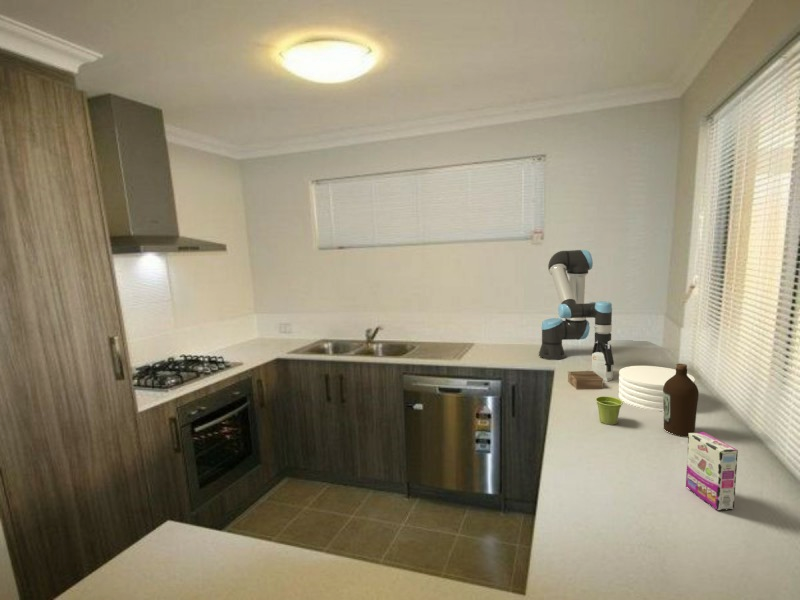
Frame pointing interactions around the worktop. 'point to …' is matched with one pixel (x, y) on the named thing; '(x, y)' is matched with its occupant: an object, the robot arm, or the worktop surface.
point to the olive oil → (680, 403)
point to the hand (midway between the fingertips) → (602, 373)
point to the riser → (585, 380)
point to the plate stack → (644, 385)
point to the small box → (600, 365)
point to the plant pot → (608, 409)
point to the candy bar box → (711, 470)
